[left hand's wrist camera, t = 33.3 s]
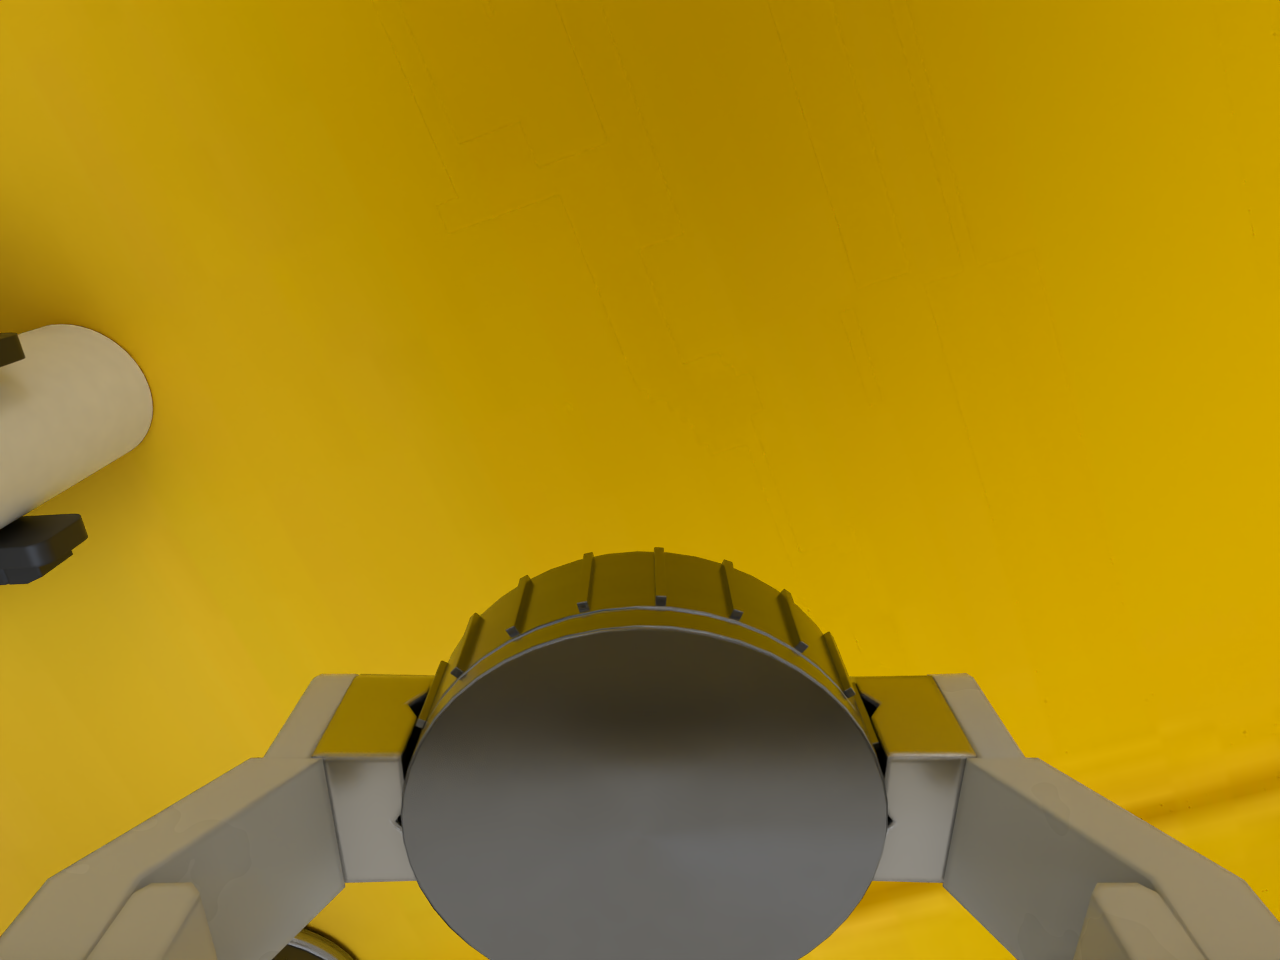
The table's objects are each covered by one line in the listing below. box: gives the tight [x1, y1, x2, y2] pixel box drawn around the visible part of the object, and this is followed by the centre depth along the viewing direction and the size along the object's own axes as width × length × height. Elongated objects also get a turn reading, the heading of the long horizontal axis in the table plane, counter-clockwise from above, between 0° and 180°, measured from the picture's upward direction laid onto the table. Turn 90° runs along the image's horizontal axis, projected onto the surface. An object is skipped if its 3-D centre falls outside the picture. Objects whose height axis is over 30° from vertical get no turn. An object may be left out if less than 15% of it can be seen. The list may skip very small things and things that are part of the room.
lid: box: [400, 547, 888, 960], centre depth 10 cm, size 5×5×2 cm
